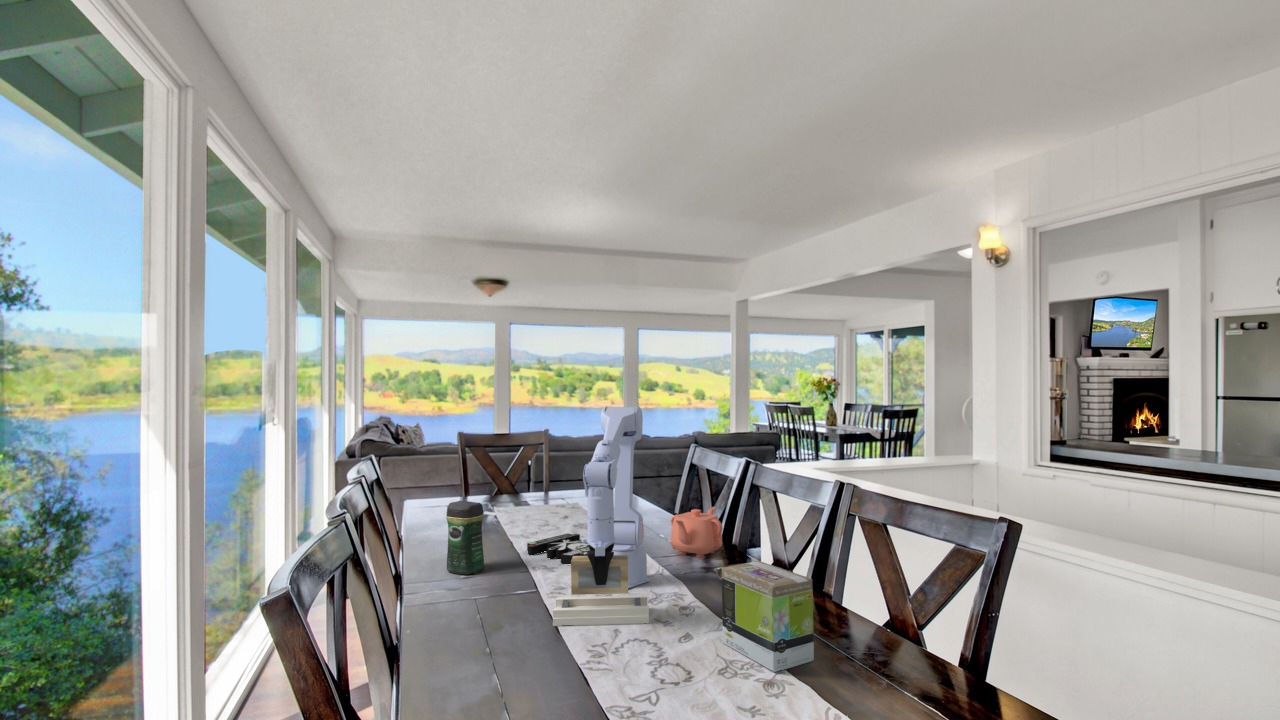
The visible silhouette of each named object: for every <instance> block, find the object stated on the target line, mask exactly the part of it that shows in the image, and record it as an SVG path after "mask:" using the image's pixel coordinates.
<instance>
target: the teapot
mask: <svg viewBox="0 0 1280 720" xmlns="http://www.w3.org/2000/svg"><path fill="white" fill-rule="evenodd" d="M715 509H716V506H711V507H710V508H709V509H708V510H707V513H706V512H705V513H704V512H702V509H697V508H694V509H691V510H690V511H687V512H684V513H680V514H679V513H678V514H675V515H673V516H672V517H671V519H670V524H671V532H670V544H671V548H672V549H673V550H675V551H679V552H678V553H677V556H681V555H683V556H687V554H688V553H689V554H690V553H691V554H695V558H696V559H698V558H704V559H705V558H706V556H705V555H707V554H708V555H709V553H714V554H716V551H717V550H719V549H720V548H721V547H722V545H723V529H724V528H723V523H721V521H720V520H719V517H718V515H716V514H714V512H715Z"/></svg>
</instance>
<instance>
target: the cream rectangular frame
mask: <svg viewBox="0 0 1280 720" xmlns="http://www.w3.org/2000/svg"><path fill="white" fill-rule="evenodd" d="M552 616H553V617H552V627H563V626H562V625H574V626H603V625H608V626H609V625H634V624H635V625H639V624H642V625H643V624H644V623H647V624H650V607H649V605H648V595H647V594H643V595H641V594H639V595H638V594H637V595H635V594H633V595H603V596H602V595H601V596H594V595H593V596H564V597H562V596H561V597H556V598H555V607H554V608H553V609H552Z"/></svg>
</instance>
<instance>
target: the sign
mask: <svg viewBox="0 0 1280 720" xmlns="http://www.w3.org/2000/svg"><path fill="white" fill-rule="evenodd" d="M526 544H527V545H526V547H527V549H526V551H528V552H527V555H528V554H529V555H528V556H530V555H534V554H537V553H541V552H544V551H547V552H546V559H547V558H550V559H549V560H554V559H553V558H555V557H556V558H555V559H556V560H557V559H561V560H560V564H561V563H562V564H561V565H564V564H571V560H572V557H573V556H587V551H590V549H589V547H588V546H589V544H588V543H583V542H582V538H581V534H579V533H564V534H559V535H555V536H552V537H547V538H543V539H539V540H535V541H530V542H527V543H526ZM544 553H545V552H544ZM541 554H542V553H541ZM537 555H538V554H537ZM534 556H535V555H534Z"/></svg>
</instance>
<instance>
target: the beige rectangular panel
mask: <svg viewBox="0 0 1280 720" xmlns="http://www.w3.org/2000/svg"><path fill="white" fill-rule="evenodd" d="M570 576H571V577H570V578H571V579H570V582H571V585H570V588H571V590H570V591H571V592H570V595H574V596H575V595H577V596H578V595H613V594H614V595H617V594H618V595H619V594H621V595H622V594H624V595H625V594H629V588H628V555H613V557H612V559H611V562H610V565H609V570H608V577H607V582H606V585H596V583H595V579H594V573H593V568H592V565H591V562H590V560H589V558H588V556H573V557H572V560H571V565H570Z"/></svg>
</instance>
